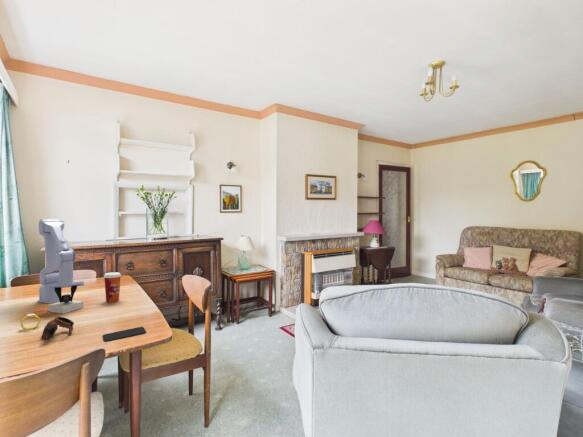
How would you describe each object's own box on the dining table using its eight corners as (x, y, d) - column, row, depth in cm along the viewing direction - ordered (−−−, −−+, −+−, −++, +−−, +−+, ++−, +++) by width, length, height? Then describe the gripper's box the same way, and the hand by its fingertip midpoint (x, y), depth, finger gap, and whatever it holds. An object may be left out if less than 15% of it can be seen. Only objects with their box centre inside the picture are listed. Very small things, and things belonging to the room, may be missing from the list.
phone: (102, 334, 123) (142, 326, 132) (102, 336, 123) (142, 328, 132) (104, 341, 117) (146, 332, 126) (104, 343, 117) (146, 333, 126)
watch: (39, 326, 131) (40, 312, 131) (39, 328, 129) (40, 314, 129) (20, 328, 127) (22, 314, 127) (20, 330, 125) (21, 316, 125)
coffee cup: (113, 303, 161) (113, 275, 161) (100, 302, 163) (99, 274, 162) (124, 299, 169) (124, 272, 169) (112, 297, 171) (112, 271, 170)
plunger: (59, 309, 150) (59, 295, 150) (67, 307, 154) (67, 293, 154) (65, 310, 149) (65, 296, 149) (72, 308, 153) (72, 294, 153)
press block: (48, 311, 148) (48, 305, 148) (68, 304, 158) (68, 299, 158) (63, 313, 145) (63, 307, 145) (83, 307, 155) (83, 301, 155)
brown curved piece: (46, 333, 125) (59, 314, 127) (68, 342, 126) (80, 323, 128) (29, 338, 113) (43, 316, 116) (53, 348, 114) (67, 327, 117)
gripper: (46, 277, 144) (46, 306, 144) (83, 274, 152) (83, 301, 152) (48, 274, 149) (48, 302, 150) (83, 272, 158) (83, 297, 158)
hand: (66, 301), depth 151 cm, fingers closed on plunger, 4 cm apart
